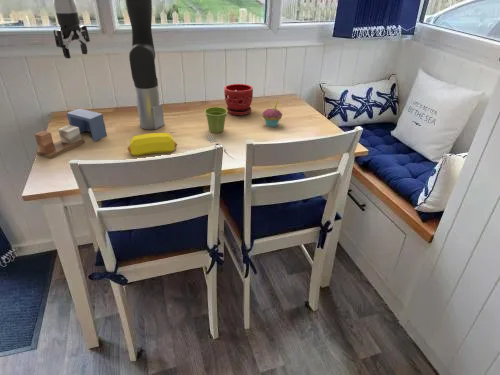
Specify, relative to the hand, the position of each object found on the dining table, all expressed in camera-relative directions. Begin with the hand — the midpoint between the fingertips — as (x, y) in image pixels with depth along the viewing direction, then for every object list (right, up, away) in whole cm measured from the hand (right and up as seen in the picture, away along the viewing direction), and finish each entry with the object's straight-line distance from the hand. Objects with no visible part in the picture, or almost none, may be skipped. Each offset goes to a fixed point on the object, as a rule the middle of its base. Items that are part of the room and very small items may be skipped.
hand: (76, 56), depth 144 cm
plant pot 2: (+63, -17, +28) cm, 71 cm away
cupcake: (+78, -25, +16) cm, 84 cm away
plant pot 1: (+55, -28, +9) cm, 62 cm away
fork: (+59, -38, -5) cm, 70 cm away
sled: (-1, -38, -9) cm, 39 cm away
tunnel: (+4, -31, +1) cm, 32 cm away
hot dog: (+33, -39, -9) cm, 52 cm away
